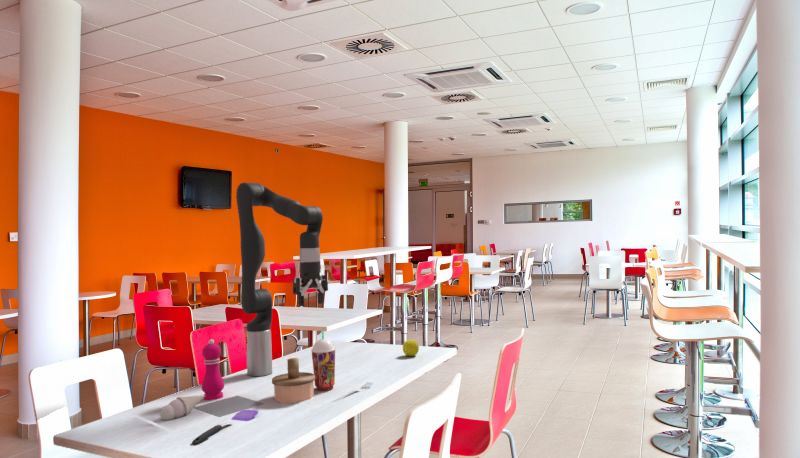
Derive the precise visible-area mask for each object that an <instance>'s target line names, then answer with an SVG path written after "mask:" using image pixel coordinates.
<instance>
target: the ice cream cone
mask: <svg viewBox="0 0 800 458" xmlns="http://www.w3.org/2000/svg"><path fill="white" fill-rule="evenodd" d="M203 395H204V394H203ZM203 395H194V396H193V395H191V396H190V395H189V396H178V397H176V399H173V400H172V401H170V402H169V403H168V404H167V405H164V406H162V408H161V409H160V412H159V416H160V418H161V419H162V420H163V421H171V420H173V419H177V418H182V417H183V416H187V415H189V413H190V412H191V411H192V410H193V409H195V408H194V407H196V406H197V405H198V404H199V403H200V402H201V401H202V400H204V397H205V396H206V395H204V396H203Z"/></svg>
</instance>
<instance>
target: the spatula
mask: <svg viewBox="0 0 800 458" xmlns="http://www.w3.org/2000/svg"><path fill="white" fill-rule="evenodd" d="M258 414H259V410H256V409H245V410H242V411H238V412H236V414H235V415H234V416H232V418H231V420H233V421H241V422H249V421H251V420H253V419H254V418H255V416H257V415H258ZM226 426H233V423H231V422H230V423H229V422H227V423H222V424H217V425H214V426H212V427H211V428H210V429H207V430H206V431H204V432H203V433H201V434H200V435H198V436H197V437H196V438H195V439H193V440H192V442H191V444H192V446H193V445H194V446H196V445H200V444H203V443H204V442H205V441H207V440H208V439H210V438H211V437H212V436H214V435H215V434H216V433H218V432H219V431H220V430H222V428H223V427H226Z"/></svg>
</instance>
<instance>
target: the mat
mask: <svg viewBox="0 0 800 458" xmlns="http://www.w3.org/2000/svg"><path fill="white" fill-rule="evenodd" d="M265 404H266V403H264V402H261V401H257V400H254V399H251V398H247V397H244V396H240V395H234V396H230V397H227V398H223V399H222V398H221V399H218V400H214V401H212V402H208V403H204V404H200V405H198V406H197V405H196V406H195V407H194V408H193V409H195V410H197V411H202V412H204V413H206V414H210V415H213V416H215V417H218V418H222V417H225V416H228V415H231V414H233V413H234V414H235V413H238V412H240V411H243V410H250V409H252V408H254V407H255V408H256V407H258V406H262V405H265Z"/></svg>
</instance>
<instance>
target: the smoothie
mask: <svg viewBox="0 0 800 458" xmlns="http://www.w3.org/2000/svg"><path fill="white" fill-rule="evenodd" d="M324 334H325V333H324V330H321V338H320V339H318V340H317V341H315V342H314V344H313V346H312V349H311V357H312V358H311V359H312V368H313V369H312V370H313V374H314V375H315V380H314V386H315V387H316V390H317V391H320V392H321V391H322V392H325V391H326V392H327V391H331V390H332V389H334V386H335V381H336V380H335V379H336V378H335V376H336V375H335V374H336V347H335V346H334V343H333V342H332V341H331V340H329V339H327V338H325V335H324Z"/></svg>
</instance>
